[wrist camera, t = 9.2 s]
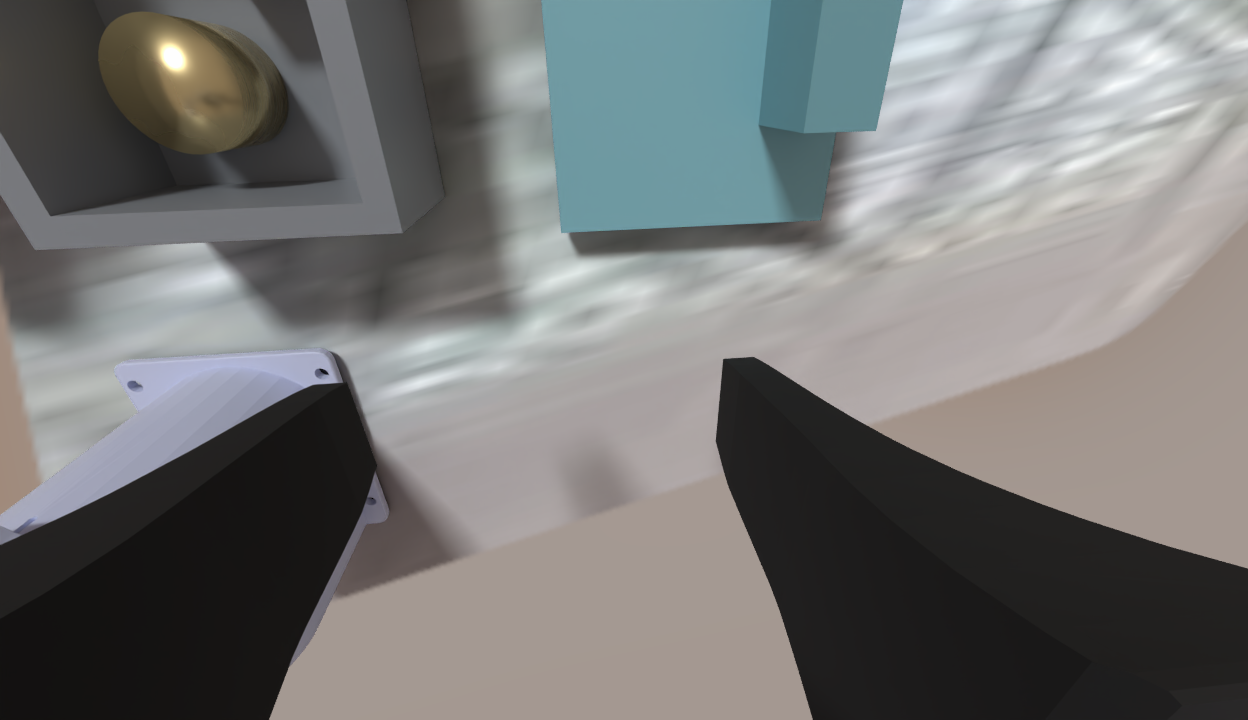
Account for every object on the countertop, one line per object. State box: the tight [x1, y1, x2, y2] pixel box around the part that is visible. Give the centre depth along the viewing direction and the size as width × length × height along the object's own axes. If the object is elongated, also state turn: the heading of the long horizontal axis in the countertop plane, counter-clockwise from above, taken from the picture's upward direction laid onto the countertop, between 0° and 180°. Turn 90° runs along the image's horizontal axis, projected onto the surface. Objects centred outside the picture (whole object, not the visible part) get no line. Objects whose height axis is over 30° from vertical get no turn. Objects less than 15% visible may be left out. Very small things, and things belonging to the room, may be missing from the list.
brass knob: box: [98, 12, 289, 155], centre depth 14 cm, size 3×3×2 cm
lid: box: [541, 0, 903, 233], centre depth 14 cm, size 11×9×5 cm
